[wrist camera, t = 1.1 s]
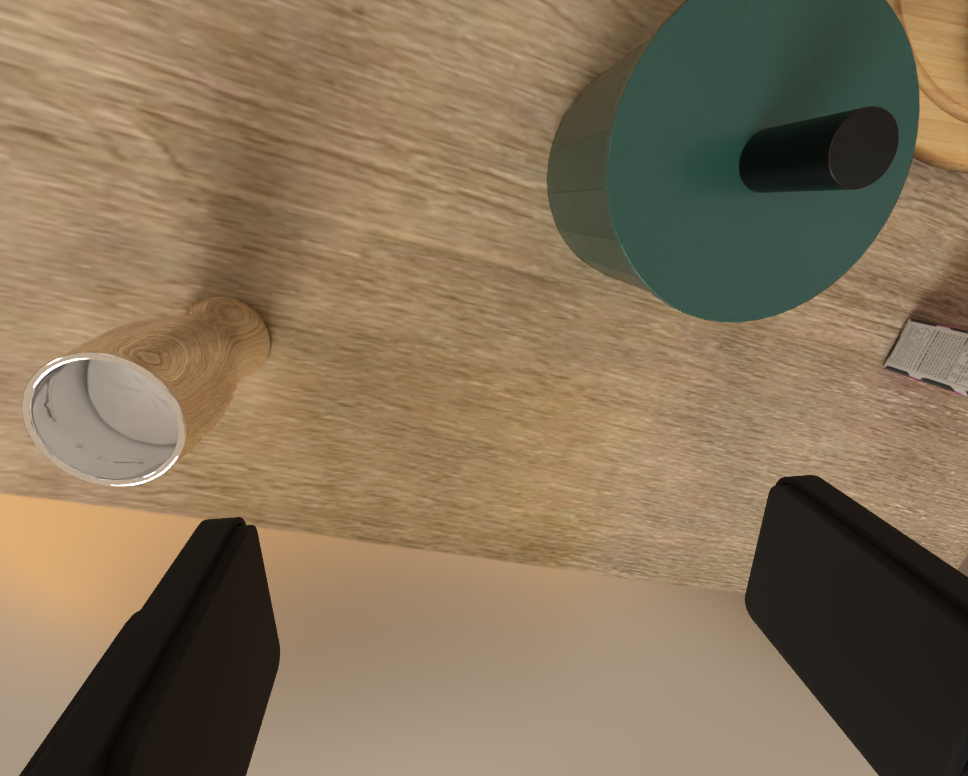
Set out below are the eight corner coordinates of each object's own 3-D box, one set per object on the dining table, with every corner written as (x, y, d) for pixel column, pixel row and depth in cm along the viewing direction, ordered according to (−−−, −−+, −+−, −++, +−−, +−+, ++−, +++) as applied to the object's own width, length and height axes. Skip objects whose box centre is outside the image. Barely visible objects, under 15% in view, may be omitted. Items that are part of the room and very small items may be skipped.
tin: (533, 75, 32) (600, 3, 21) (745, 42, 33) (924, -46, 22) (556, 294, 38) (620, 334, 26) (739, 260, 39) (879, 284, 27)
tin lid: (585, -5, 21) (656, -92, 15) (921, -54, 22) (1120, -157, 16) (609, 341, 27) (667, 383, 21) (875, 290, 28) (1008, 314, 21)
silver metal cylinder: (292, 318, 36) (213, 392, 22) (255, 397, 38) (160, 512, 24) (194, 271, 34) (40, 318, 20) (161, 356, 36) (-4, 455, 22)
